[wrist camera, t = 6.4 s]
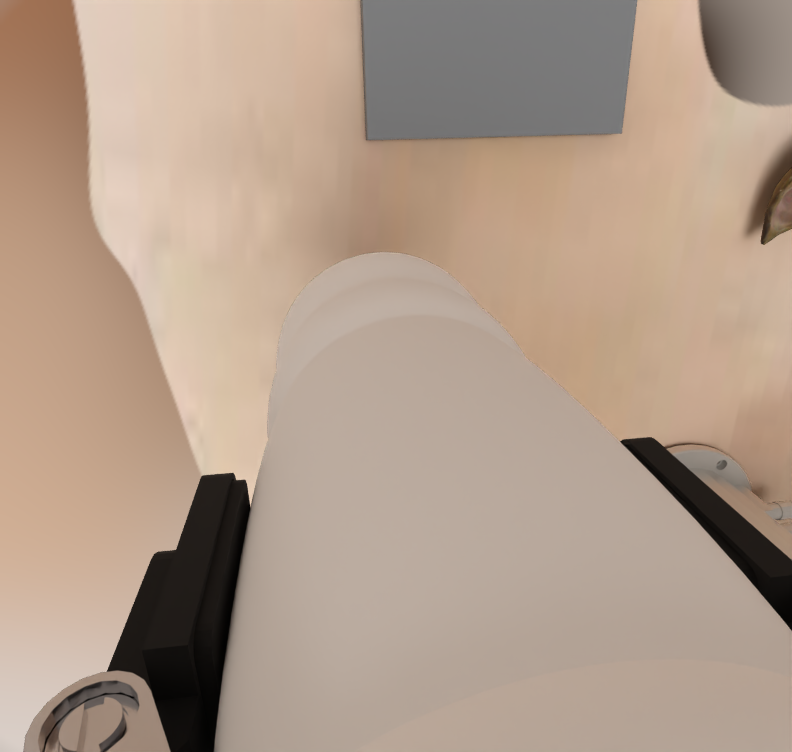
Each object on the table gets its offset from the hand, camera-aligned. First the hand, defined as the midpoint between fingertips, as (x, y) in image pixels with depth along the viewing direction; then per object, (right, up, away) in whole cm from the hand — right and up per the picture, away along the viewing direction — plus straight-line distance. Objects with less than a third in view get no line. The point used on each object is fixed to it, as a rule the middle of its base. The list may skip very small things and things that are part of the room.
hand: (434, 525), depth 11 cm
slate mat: (+5, +23, +21) cm, 31 cm away
